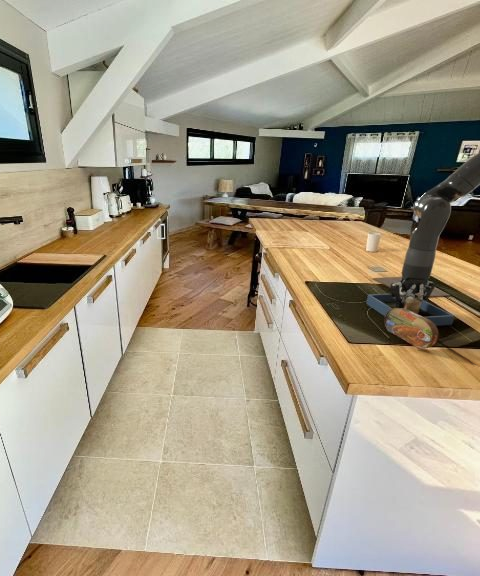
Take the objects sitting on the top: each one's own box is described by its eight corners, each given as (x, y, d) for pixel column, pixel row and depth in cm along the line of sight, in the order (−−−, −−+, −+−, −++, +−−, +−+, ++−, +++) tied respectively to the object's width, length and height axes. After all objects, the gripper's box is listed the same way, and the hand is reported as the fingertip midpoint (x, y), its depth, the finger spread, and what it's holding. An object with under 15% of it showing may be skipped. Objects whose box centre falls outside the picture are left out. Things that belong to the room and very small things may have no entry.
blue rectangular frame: (405, 302, 113) (408, 292, 112) (451, 327, 95) (454, 315, 94) (365, 304, 112) (367, 294, 111) (404, 330, 94) (407, 318, 93)
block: (407, 309, 106) (410, 296, 104) (418, 314, 102) (421, 301, 100) (394, 309, 105) (397, 297, 104) (404, 315, 101) (407, 302, 100)
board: (406, 279, 137) (407, 276, 136) (449, 298, 116) (450, 295, 116) (372, 281, 135) (372, 278, 135) (409, 301, 115) (410, 297, 114)
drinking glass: (377, 252, 180) (381, 235, 176) (364, 251, 183) (367, 234, 179) (378, 249, 185) (381, 233, 182) (365, 248, 188) (368, 232, 185)
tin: (381, 328, 96) (387, 303, 93) (390, 327, 96) (395, 302, 93) (426, 355, 82) (434, 326, 79) (435, 353, 83) (444, 325, 80)
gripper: (405, 266, 93) (393, 318, 99) (450, 264, 94) (435, 315, 100) (388, 260, 100) (378, 308, 106) (430, 258, 101) (418, 306, 107)
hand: (406, 311), depth 103 cm, fingers closed on block, 4 cm apart
